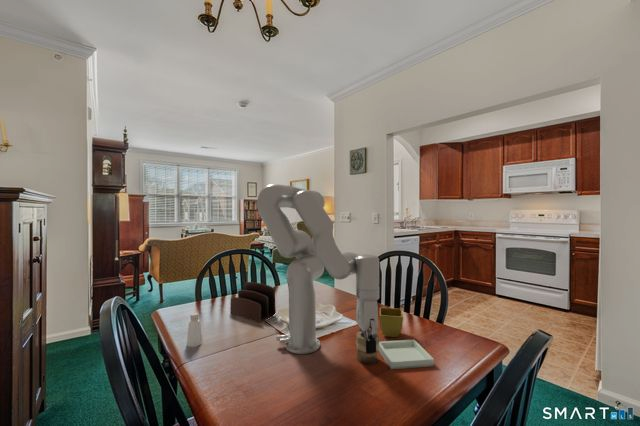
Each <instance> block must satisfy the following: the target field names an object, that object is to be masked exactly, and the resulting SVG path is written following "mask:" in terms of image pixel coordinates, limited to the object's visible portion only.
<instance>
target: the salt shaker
mask: <svg viewBox="0 0 640 426" xmlns="http://www.w3.org/2000/svg"><path fill="white" fill-rule="evenodd" d="M189 317H190V320H189V321H188V327H187V336H186V346H188V348H195V346H196V347H199V346H201V345H202V342H203V334H202V327H201V326H202V325H201V320H200V319H199V313H198V312H193V313H191V314H190V315H189ZM198 345H199V346H198Z"/></svg>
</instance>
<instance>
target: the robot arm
mask: <svg viewBox="0 0 640 426" xmlns="http://www.w3.org/2000/svg"><path fill="white" fill-rule="evenodd" d="M256 201H257V202H256V206H257V211H258V214H259V217H260V218H261V221H263V223H264V225H265V227H266V229H267V230H268V233H269V235H270V238H271V240H272V241H273V243H274V245H275V247H276V250H277V251H278V253H279V255H280V256H281V257H282V258H286V259H290V258H294V257H295V259H294V260H293V261H291V262H290V263H289V265H288V267H287V269H286V281H287V288H288V331H287V333H285V334H277V335H276V342H277V341H278V342H279V344H284V348H285V350H286V351H287V352H289V353H291V354H296V355H306V354H311V353H314V352H316V351H317V350H319V348H320V346H321V341H320V340H319V338H317V337H316V336H317V335H316V331H317V330H316V325H317V324H316V311H317V310H316V304H317V303H316V302H317V301H316V292H315V286H314V281H315V280H317V279H319V278H320V277H322V276H323V274H324V272H325V270H326V272H327V273H328V274H329V275H330V276H331V277H332V278H334V279H336V280H339V281H341V280H344V279H347V278H348V277H349V276H351V275H354V274H355V298H356V313H355V314H356V315H355V321H356V324H357V325H358V327H359V331H363V332H365V331H366V335H367V340H366V353H376V336H377V334H378V332H377V331H378V330H379V309H378V300H379V299H380V258H379V257H378V256H377V255H375V254H360V253H355V252H349V251H348V252H347V251H346V252H341V250H340V249H339V247H338V245H337V243H336V241H335V238H334V234H333V233H334V232H333V231H334V222H333V221H332V219H331V218H330V215H328V213H327V212H326V210H325V209H324V207H325V203H326V202H325V199H324V197H323V195H322V194H321V193H320V192H318V191H316V190H310V189H305V188H300V187H296V186H292V185H291V186H290V185H285V184H276V183H275V184H274V183H272V184H268V185H266V186H264V187H263V188H262V189H261V190H260V192H259V193H258V196H257V200H256ZM281 208H289V209H292V210H293V209H294V210H295V211H296V212H297V214H298V216H299V217H300V219H301V220H302V222H303V223H304V225H305V227H306V229H307V230H308V231H309V233H310V234H311V236H310V235H309V234H308V233H307V232H305V231H304V230H301V229H297V230H295V229H294V227H293V226H292V224H291V222H290V220H289V218H288V216H287V215H286V214H285V213H284V212H283V210H282V209H281ZM311 237H312V238H311ZM359 331H358V332H359ZM369 332H372V333H371V334H370V336H369Z"/></svg>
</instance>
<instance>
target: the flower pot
mask: <svg viewBox="0 0 640 426" xmlns="http://www.w3.org/2000/svg"><path fill="white" fill-rule="evenodd" d="M403 322H404V314H403V309H402V308H392V307H379V323H380V329H381V332H382V335H383V336H384V337H389V338H398V337H399V336H400V334H401V333H402V329H403Z"/></svg>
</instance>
